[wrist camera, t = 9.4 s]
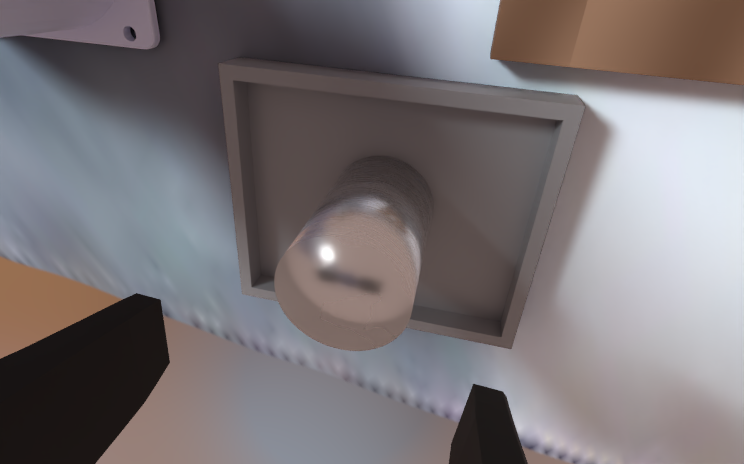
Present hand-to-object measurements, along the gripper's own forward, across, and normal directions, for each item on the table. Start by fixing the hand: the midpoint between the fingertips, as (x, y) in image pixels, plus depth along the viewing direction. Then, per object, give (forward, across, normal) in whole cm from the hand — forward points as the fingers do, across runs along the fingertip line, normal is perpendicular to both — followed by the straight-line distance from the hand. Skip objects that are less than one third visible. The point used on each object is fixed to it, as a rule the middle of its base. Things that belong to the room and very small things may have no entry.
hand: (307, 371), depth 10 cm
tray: (+9, 0, 0) cm, 9 cm away
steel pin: (+9, 0, 0) cm, 9 cm away
